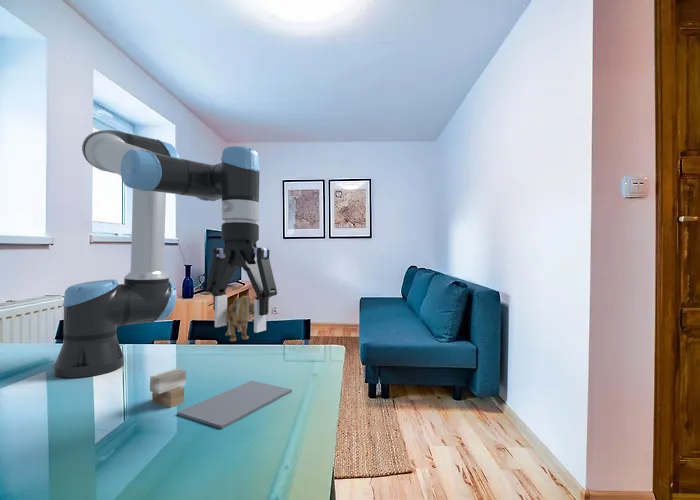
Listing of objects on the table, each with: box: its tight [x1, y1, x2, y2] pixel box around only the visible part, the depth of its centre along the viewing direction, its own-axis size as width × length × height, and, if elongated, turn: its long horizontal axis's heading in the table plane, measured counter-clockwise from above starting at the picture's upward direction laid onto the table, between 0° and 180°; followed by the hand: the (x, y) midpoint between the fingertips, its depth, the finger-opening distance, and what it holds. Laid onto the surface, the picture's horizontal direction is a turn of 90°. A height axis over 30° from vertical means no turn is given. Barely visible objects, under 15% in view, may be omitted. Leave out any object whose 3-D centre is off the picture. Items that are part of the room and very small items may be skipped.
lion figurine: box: [224, 295, 254, 342], centre depth 77 cm, size 15×5×9 cm, turn 33°
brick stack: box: [149, 368, 187, 408], centre depth 76 cm, size 6×6×6 cm
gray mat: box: [176, 380, 293, 430], centre depth 76 cm, size 12×20×1 cm, turn 152°
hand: (239, 328), depth 76 cm, fingers closed on lion figurine, 10 cm apart
